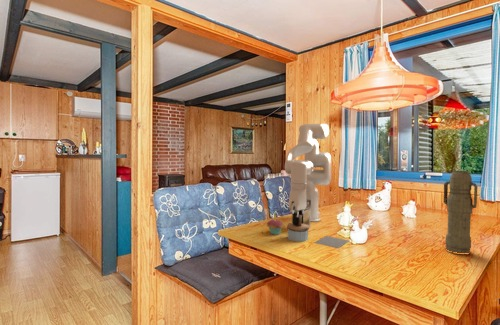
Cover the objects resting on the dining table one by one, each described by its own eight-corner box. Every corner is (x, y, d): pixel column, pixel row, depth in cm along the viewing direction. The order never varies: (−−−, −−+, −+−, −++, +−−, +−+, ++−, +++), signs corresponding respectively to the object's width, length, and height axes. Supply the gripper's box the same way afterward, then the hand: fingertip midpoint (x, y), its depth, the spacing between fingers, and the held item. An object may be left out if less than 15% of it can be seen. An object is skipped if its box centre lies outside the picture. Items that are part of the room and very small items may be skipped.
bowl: (294, 235, 148) (294, 225, 148) (311, 238, 142) (311, 228, 142) (284, 239, 140) (284, 229, 140) (301, 243, 134) (301, 232, 134)
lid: (293, 223, 148) (294, 211, 148) (312, 227, 142) (313, 215, 142) (282, 228, 140) (283, 215, 140) (302, 232, 134) (302, 218, 133)
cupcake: (282, 236, 146) (282, 212, 145) (265, 235, 147) (265, 211, 147) (283, 231, 154) (284, 209, 154) (268, 230, 156) (268, 208, 155)
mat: (326, 236, 146) (326, 235, 146) (349, 241, 138) (349, 240, 138) (313, 243, 135) (313, 242, 135) (338, 249, 127) (338, 248, 127)
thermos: (444, 246, 133) (447, 170, 131) (476, 252, 124) (479, 171, 123) (438, 250, 127) (441, 170, 125) (472, 257, 118) (475, 172, 117)
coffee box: (301, 231, 155) (301, 201, 154) (291, 229, 159) (291, 200, 159) (310, 228, 161) (311, 199, 160) (301, 226, 166) (301, 198, 165)
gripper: (300, 184, 149) (299, 219, 150) (282, 187, 136) (282, 226, 137) (313, 185, 144) (312, 222, 145) (296, 189, 131) (296, 228, 132)
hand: (297, 223), depth 141 cm, fingers closed on lid, 3 cm apart
